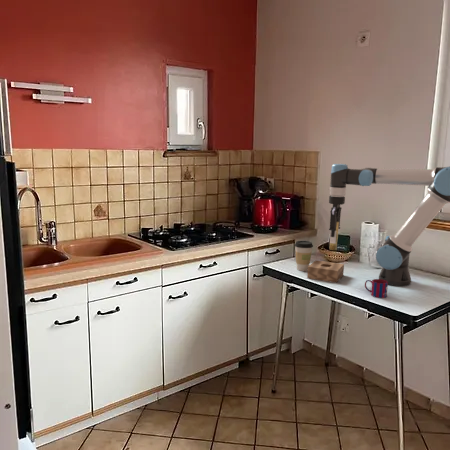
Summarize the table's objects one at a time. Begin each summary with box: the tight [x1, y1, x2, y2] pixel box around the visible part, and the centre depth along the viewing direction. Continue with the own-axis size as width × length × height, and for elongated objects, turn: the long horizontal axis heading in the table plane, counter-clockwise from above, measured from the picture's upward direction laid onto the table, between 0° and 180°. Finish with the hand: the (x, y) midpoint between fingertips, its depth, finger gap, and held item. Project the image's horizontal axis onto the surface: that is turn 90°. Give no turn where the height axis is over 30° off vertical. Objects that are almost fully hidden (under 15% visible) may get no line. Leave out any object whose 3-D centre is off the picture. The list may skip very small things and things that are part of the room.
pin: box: [329, 221, 339, 251], centre depth 227 cm, size 4×4×14 cm
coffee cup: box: [294, 240, 314, 272], centre depth 246 cm, size 10×10×15 cm
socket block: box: [306, 259, 345, 283], centre depth 234 cm, size 15×14×6 cm
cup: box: [364, 278, 389, 299], centre depth 208 cm, size 7×10×7 cm
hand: (333, 242), depth 228 cm, fingers closed on pin, 3 cm apart
